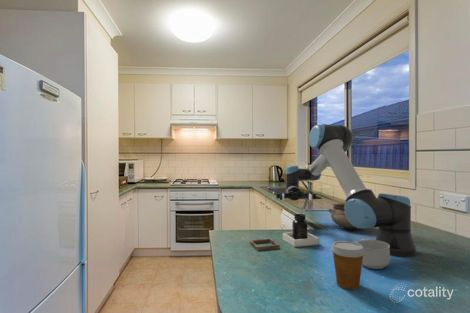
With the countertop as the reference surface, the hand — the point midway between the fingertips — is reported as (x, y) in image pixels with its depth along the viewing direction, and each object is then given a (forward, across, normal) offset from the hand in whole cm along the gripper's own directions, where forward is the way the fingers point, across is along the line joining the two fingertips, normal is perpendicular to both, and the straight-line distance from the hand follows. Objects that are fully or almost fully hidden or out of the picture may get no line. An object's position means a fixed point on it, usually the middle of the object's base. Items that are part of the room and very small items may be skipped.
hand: (297, 197), depth 138 cm
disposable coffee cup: (+52, -10, -20) cm, 57 cm away
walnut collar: (+18, +16, -19) cm, 31 cm away
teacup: (+34, -23, -20) cm, 46 cm away
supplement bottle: (+10, 0, -19) cm, 21 cm away
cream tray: (+10, 0, -19) cm, 21 cm away
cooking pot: (-18, -29, -19) cm, 39 cm away
